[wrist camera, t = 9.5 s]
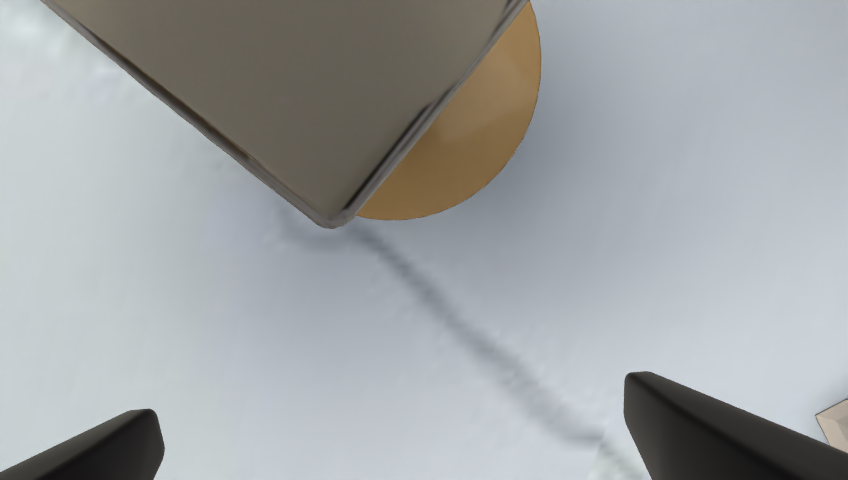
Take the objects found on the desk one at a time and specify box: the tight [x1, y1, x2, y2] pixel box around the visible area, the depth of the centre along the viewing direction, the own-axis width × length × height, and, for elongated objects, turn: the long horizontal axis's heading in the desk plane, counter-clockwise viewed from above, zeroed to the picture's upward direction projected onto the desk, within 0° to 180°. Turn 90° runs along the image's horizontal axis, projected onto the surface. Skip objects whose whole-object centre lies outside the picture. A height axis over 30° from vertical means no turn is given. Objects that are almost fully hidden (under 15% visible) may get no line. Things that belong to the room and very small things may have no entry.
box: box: [41, 0, 529, 229], centre depth 10 cm, size 5×4×11 cm
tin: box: [356, 0, 541, 220], centre depth 17 cm, size 10×10×4 cm
